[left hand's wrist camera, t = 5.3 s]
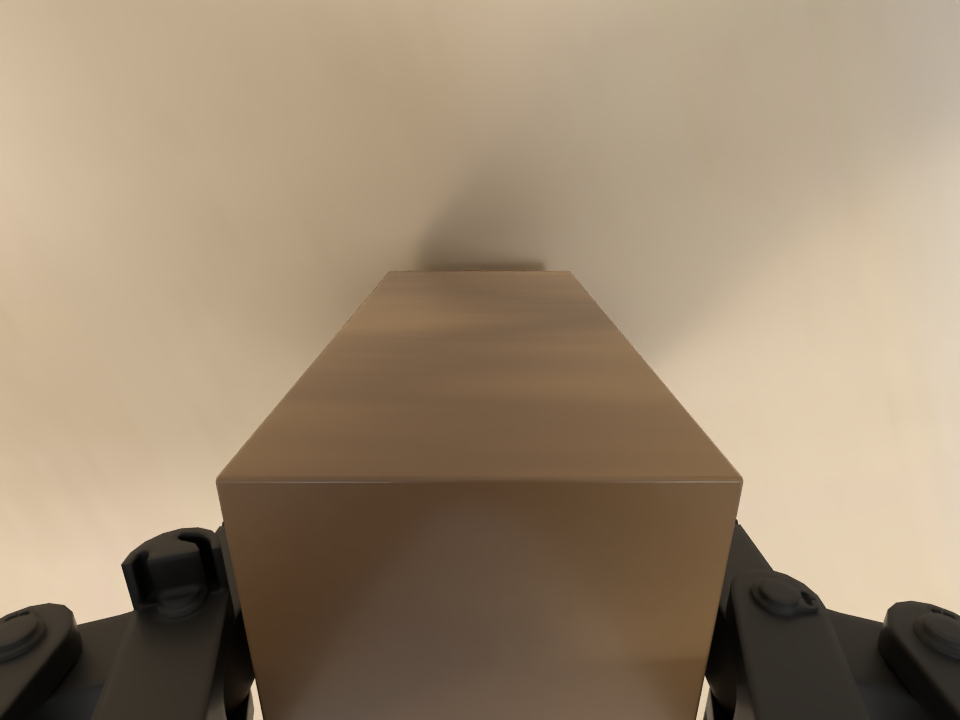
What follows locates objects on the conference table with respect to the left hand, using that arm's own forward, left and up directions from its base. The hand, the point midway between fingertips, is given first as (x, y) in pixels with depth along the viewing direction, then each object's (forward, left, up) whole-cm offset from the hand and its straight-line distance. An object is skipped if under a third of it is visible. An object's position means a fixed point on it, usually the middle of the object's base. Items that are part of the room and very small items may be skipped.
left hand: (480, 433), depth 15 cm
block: (0, 0, -4) cm, 4 cm away
